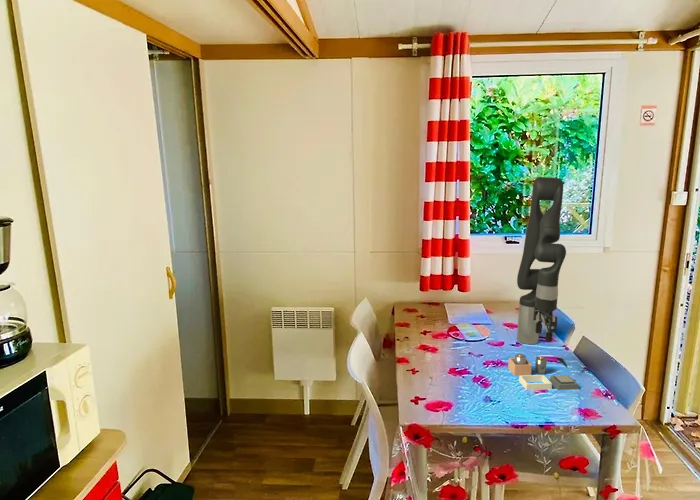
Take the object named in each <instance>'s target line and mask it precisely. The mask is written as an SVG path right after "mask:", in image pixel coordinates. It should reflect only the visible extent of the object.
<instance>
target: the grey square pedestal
mask: <svg viewBox="0 0 700 500" xmlns="http://www.w3.org/2000/svg"><path fill="white" fill-rule="evenodd" d="M555 376H556V375H550V376H549V379H548V380H549V381H550V382H551V383H552V386H553V387H554V388H555V389H556V390H557V391H563V390H565V391H566V390H568V391H569V390H572V391H573V390H580V387H579V383H577V381H575V379H573V378H572V377H571V376H570V375H567V374H566V375H564V376H568V377H569V378H570V379H571V380H572V381H574V382H573V383H572V384H560V383H559V382H558V381H557V380H556V379H555Z"/></svg>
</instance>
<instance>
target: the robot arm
mask: <svg viewBox="0 0 700 500" xmlns="http://www.w3.org/2000/svg"><path fill="white" fill-rule="evenodd" d="M563 196H564V182H563V180H562V179H561V178H559V177H548V176H544V177H543V176H537V177H536V178H535V179H534V181H533V186H532V192H531V202H530V212H529V216H528V222H527V227H526V231H525V238H524V245H523V250H522V257H521V259H520V260H521V261H520V265H519V268H518V273H517V278H516V284H517V287H518V289H520V290H522V291H530V292H528V293H526V294H524V295H521V296H520V297H519V301H518V302H519V305H518V319H517V331H516V335H517V336H516V340H517V342H519V343H521V344H524V345H525V344H526V345H536V344H538V343H539V339H540V338H539V337H540V334H542V332H543V326H544V328H545V340H544V341H545V342H546V343H551V342H552V341H553V334H554V333H557V330H558V329H557V328H558V327H557V326H558V316H554V313H553V312H554V311H556V310H557V308H558V298H559V297H558V296H559V278H560V271H561V269H562V266H563V263H564V261H565V260H566V259H565V258H566V256H567V250H566V247H565V246H564V245H563V244H562V243H557V242H558V241H560V239H561V238H560V237H561V227H560V225H561V224H560V223H561V212H562V205H563V198H564V197H563ZM541 201H547V202H548V201H549V202H552V205H551V206H550V207H549V209H548V210H547V211H546V212H545V213H544V214H543V211H542V209H541V204H540V203H541ZM536 260H537V262H540V263H553V264H552V265H551V266H547V267H541V268H532V265H533V264H534V262H535V261H536Z"/></svg>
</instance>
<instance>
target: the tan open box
mask: <svg viewBox="0 0 700 500" xmlns="http://www.w3.org/2000/svg"><path fill="white" fill-rule="evenodd" d="M507 366H508V367H507V369H508V370H509V372H510V373H512V375H513V376H514V377H516V376H517V377H519V376H523V375H532V367H533V365H532V364H531V363H530V361H529V360H528V359H526V364H525V365H516V364H515V357H513V358H511V357H510V358H508V364H507Z"/></svg>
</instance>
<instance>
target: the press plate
mask: <svg viewBox="0 0 700 500" xmlns="http://www.w3.org/2000/svg"><path fill="white" fill-rule="evenodd" d="M554 376H555V379H556V380H557V381H558V382H559V383H560V384H572V383H573V382H574V381H575V380H574V381H572V380H571V379H570V378H569V377H568V376H565V375H554Z"/></svg>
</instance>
